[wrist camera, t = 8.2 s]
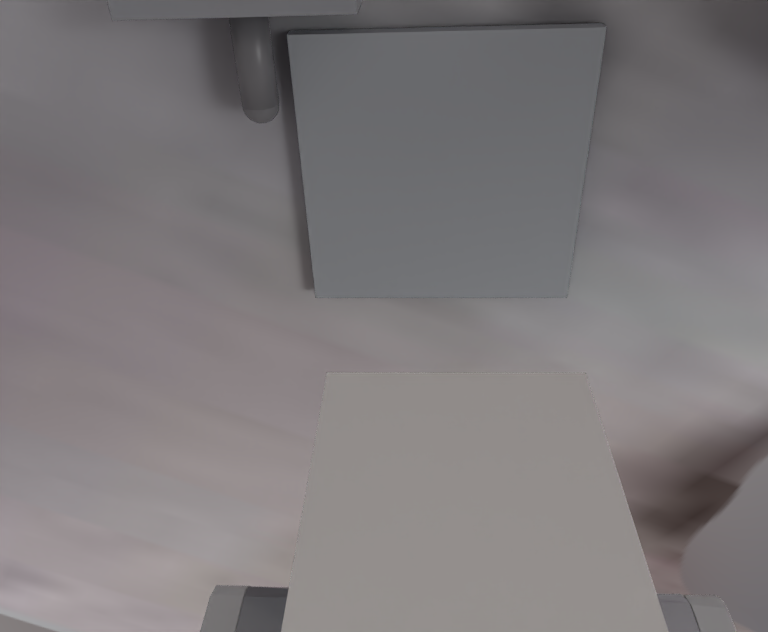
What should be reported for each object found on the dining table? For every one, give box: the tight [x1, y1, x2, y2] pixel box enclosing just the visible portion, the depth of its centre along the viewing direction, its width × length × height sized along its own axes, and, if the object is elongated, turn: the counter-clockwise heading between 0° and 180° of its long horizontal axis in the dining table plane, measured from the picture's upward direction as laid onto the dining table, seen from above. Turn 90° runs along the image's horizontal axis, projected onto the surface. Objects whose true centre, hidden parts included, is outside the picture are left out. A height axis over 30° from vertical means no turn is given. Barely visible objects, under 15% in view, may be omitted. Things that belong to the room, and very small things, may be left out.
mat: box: [287, 23, 607, 298], centre depth 24 cm, size 10×10×1 cm
